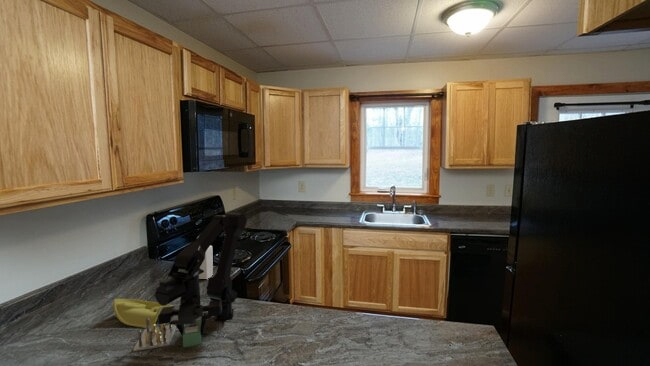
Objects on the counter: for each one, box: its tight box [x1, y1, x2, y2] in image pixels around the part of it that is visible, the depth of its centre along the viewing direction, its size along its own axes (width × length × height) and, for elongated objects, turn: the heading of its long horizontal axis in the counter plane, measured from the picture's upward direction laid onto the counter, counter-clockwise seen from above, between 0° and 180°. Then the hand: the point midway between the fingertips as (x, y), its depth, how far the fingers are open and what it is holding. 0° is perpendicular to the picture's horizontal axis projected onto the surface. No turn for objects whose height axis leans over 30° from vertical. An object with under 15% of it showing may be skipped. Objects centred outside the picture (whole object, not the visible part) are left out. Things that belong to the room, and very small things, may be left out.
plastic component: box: [112, 298, 174, 329], centre depth 110 cm, size 20×7×10 cm
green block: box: [181, 318, 203, 348], centre depth 97 cm, size 8×5×5 cm, turn 18°
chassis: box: [132, 318, 177, 352], centre depth 97 cm, size 11×10×5 cm
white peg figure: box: [196, 234, 214, 280], centre depth 145 cm, size 6×6×22 cm
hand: (193, 335), depth 96 cm, fingers closed on green block, 5 cm apart
